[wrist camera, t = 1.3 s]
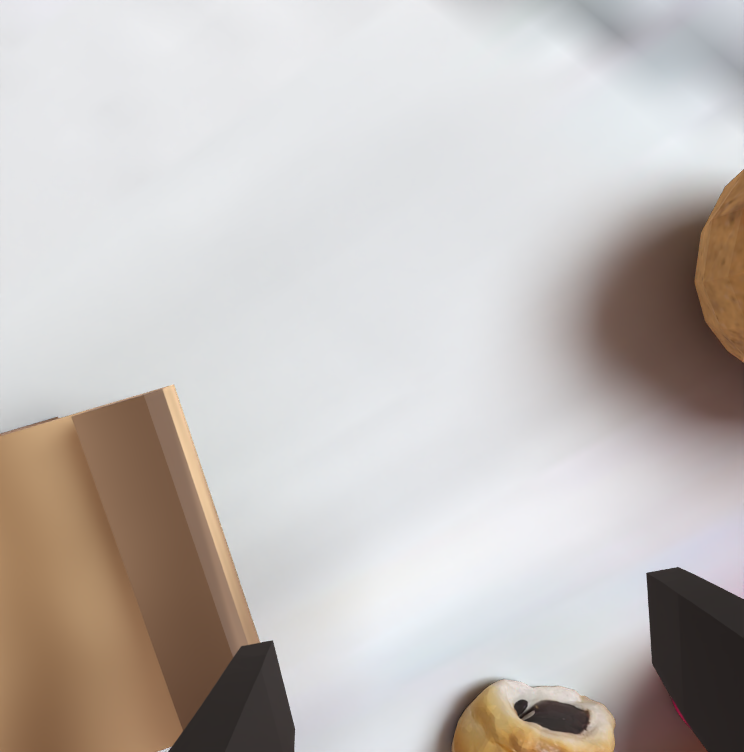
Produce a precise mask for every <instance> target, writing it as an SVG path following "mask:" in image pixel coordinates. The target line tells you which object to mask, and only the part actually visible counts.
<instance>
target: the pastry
mask: <svg viewBox="0 0 744 752" xmlns="http://www.w3.org/2000/svg"><path fill="white" fill-rule="evenodd" d="M615 725H616V724H615V719H614V717H613V716H612V714H611V713H610V712H609V711H608V709H607V708H606V707H605V706H604V705H603V704H601V703H599V702H596V701H593V700H590V699H589V698H587V697H586V696H580V695H579V694H578V693H577V692H576V691H575V690H572V689H568V688H565V687H561V686H555V687H550V686H542V687H534V688H532V687H530V686H528V685H527V684H525V683H522V682H518V681H513V680H506V679H503V680H499V681H497V682H495V683H493V684H491V685H490V686H488V687H487V688H486V689H485V690H484V691H483V692H482V693H480V694H479V695H478V696H477V697H476V699H475V700H474V701H473V702H472V703H470V705H469V706H468V707H467V708H466V709H465V711H464V712H463V713H462V715H461V717H460V718H459V720H458V723H457V727H456V730H455V734H454V738H453V742H452V752H614V751H613V750H614V747H615V740H614V732H613V730H614V728H615Z"/></svg>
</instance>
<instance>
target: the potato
mask: <svg viewBox="0 0 744 752" xmlns="http://www.w3.org/2000/svg"><path fill="white" fill-rule="evenodd" d="M694 283H695V287H696V290H697V294H698V298H699V301H700V305H701V308H702V312H703V315H704V319H705V322H706V324H707V325H708V326H709V328H710V329H711V330H712V331H713V333H714V334H715V335H716V337H717V338H718V339H719V341H720V342H721V343H722V345H723V346H724V347H725V349H726V350H727V351H728V352H729V353H731V354H732V355H734V356H735V357H736V358H738V359H739V360H740V361H742V362H743V363H744V169H743V170H742V171H741V172H740V173H739V174H738V175H737V176H736V177H735V178H734V179H733V180H732V181H731V182H730V183H729V184H727V185H726V186H725V188H724V190H723V192H722V194H721V195H720V197H719V199H718V201H717V203H716V205H715V207H714V209H713V211H712V213H711V215H710V216H709V218H708V220H707V222H706V224H705V226H704V228H703V230H702V232H701V237H700V244H699V251H698V259H697V266H696V273H695V281H694Z"/></svg>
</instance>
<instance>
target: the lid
mask: <svg viewBox="0 0 744 752" xmlns="http://www.w3.org/2000/svg"><path fill="white" fill-rule="evenodd" d="M256 643H260V641H259V638H258V635H257V632H256V629H255V626H254V623H253V620H252V617H251V614H250V611H249V608H248V605H247V602H246V599H245V596H244V593H243V590H242V587H241V584H240V581H239V578H238V575H237V572H236V569H235V566H234V563H233V560H232V557H231V554H230V551H229V548H228V545H227V542H226V539H225V536H224V533H223V530H222V527H221V524H220V521H219V518H218V515H217V512H216V509H215V506H214V503H213V500H212V497H211V494H210V491H209V488H208V485H207V482H206V479H205V476H204V473H203V470H202V467H201V464H200V461H199V458H198V455H197V452H196V449H195V446H194V443H193V440H192V437H191V434H190V431H189V428H188V425H187V422H186V419H185V416H184V413H183V410H182V407H181V404H180V401H179V398H178V395H177V392H176V389H175V386H174V385H171V386H167V387H164V388H160V389H157V390H154V391H150V392H147V393H144V394H140V395H137V396H133V397H130V398H127V399H123V400H120V401H116V402H113V403H110V404H106V405H103V406H99V407H96V408H93V409H89V410H86V411H83V412H79V413H76V414H72V415H69V416H66V417H62V418H59V419H55V420H52V421H49V422H45V423H42V424H39V425H35V426H32V427H28V428H25V429H22V430H18V431H15V432H11V433H8V434H5V435H1V436H0V752H157V751H160V750H163V749H166V748H169V747H172V746H173V745H174V743H175V742H176V740H177V739H178V737H179V736H180V735H181V733H182V732H183V730H184V729H185V728H186V726H187V725H188V723H189V722H190V720H191V719H192V718H193V716H194V715H195V713H196V712H197V710H198V709H199V708H200V706H201V705H202V703H203V702H204V700H205V699H206V697H207V696H208V694H209V693H210V691H211V690H212V688H213V687H214V685H215V684H216V682H217V681H218V679H219V678H220V676H221V675H222V673H223V672H224V670H225V669H226V667H227V666H228V664H229V663H230V661H231V660H232V658H233V657H234V656H235V654H236V653H237V651H238V650H239V649H240V647H241V646H245V645H250V644H256Z"/></svg>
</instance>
